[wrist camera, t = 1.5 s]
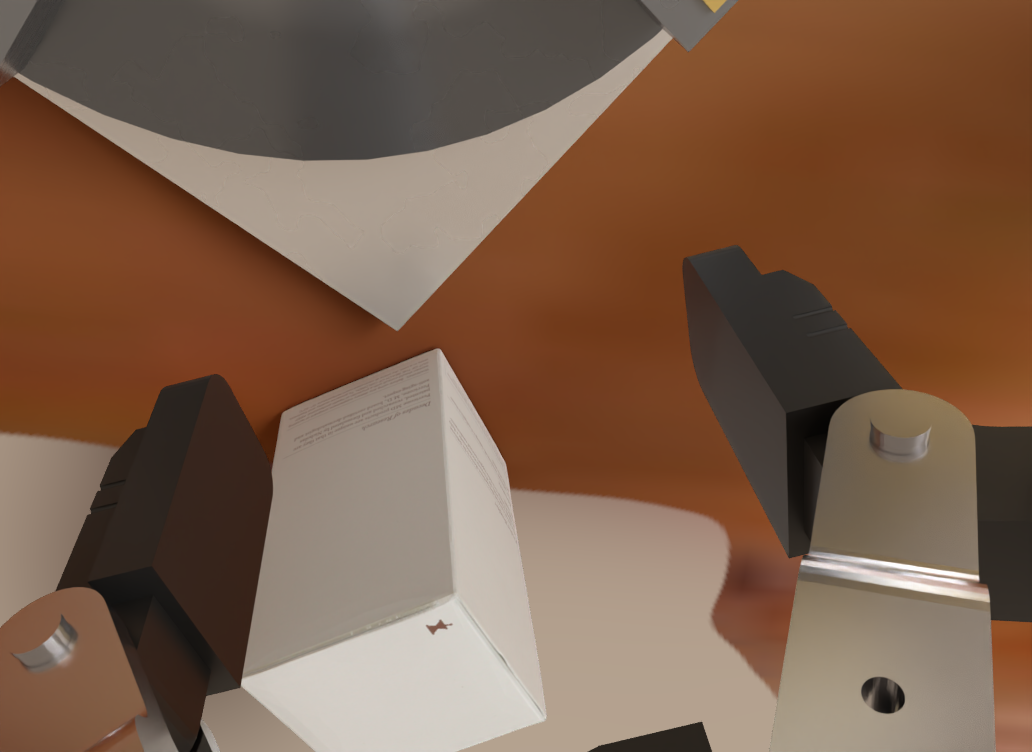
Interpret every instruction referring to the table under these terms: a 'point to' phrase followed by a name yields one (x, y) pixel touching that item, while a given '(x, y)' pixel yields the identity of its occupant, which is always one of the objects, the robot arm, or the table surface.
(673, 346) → the table surface
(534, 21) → the grey flat round piece
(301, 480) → the supplement box
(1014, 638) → the table surface
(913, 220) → the table surface
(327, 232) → the base plate
